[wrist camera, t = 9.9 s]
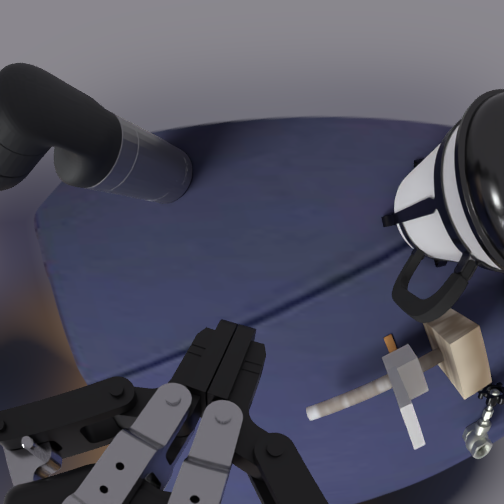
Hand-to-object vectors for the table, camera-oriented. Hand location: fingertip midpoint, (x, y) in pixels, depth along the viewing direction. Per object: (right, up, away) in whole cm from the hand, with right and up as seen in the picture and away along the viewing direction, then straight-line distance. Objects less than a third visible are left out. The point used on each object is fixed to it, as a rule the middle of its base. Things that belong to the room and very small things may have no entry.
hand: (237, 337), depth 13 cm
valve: (+38, -23, +21) cm, 50 cm away
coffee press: (+25, +8, +24) cm, 35 cm away
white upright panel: (+21, -12, +22) cm, 32 cm away
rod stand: (+20, -12, +25) cm, 34 cm away
